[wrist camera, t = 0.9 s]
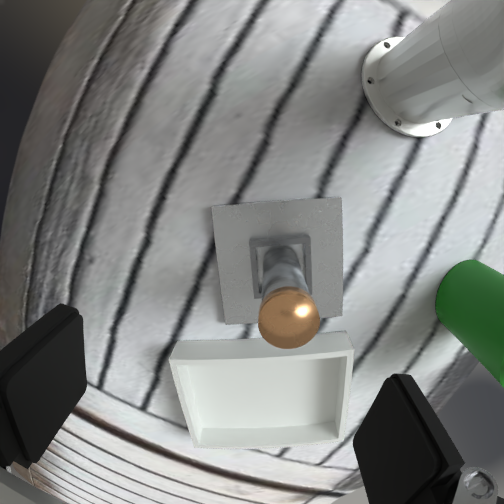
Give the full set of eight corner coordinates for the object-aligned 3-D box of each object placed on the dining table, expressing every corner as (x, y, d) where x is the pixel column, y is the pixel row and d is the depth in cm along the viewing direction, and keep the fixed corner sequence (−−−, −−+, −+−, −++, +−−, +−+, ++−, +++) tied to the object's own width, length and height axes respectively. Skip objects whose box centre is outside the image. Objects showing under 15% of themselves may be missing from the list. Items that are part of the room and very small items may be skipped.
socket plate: (339, 196, 34) (344, 199, 32) (340, 312, 38) (344, 321, 35) (212, 205, 35) (208, 208, 32) (226, 320, 39) (224, 330, 36)
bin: (345, 330, 38) (354, 349, 34) (338, 420, 43) (343, 441, 38) (177, 340, 40) (168, 359, 35) (199, 427, 44) (194, 447, 40)
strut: (299, 244, 35) (319, 292, 21) (301, 282, 36) (319, 346, 23) (259, 247, 35) (255, 297, 22) (262, 284, 36) (260, 350, 23)
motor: (482, 316, 37) (562, 390, 18) (435, 336, 38) (508, 428, 19) (483, 253, 35) (585, 311, 16) (433, 271, 36) (531, 349, 17)
